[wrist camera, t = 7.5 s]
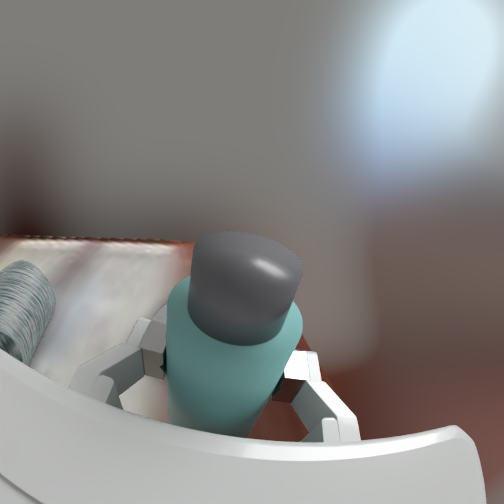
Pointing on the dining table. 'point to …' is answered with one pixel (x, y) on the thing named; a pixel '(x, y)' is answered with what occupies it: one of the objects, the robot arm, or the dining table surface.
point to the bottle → (230, 332)
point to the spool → (24, 309)
